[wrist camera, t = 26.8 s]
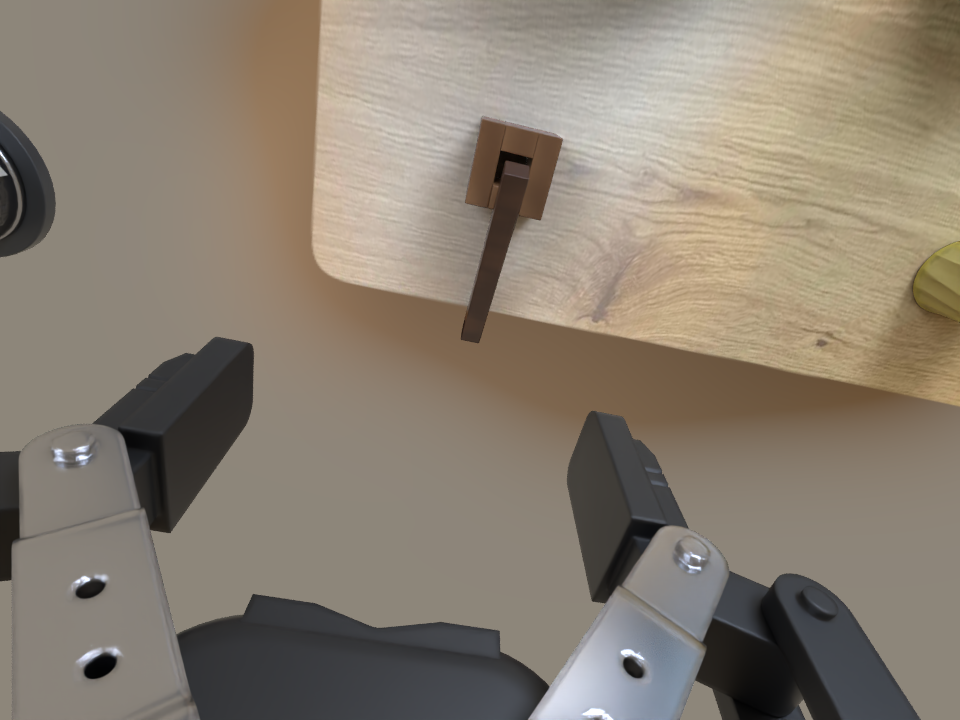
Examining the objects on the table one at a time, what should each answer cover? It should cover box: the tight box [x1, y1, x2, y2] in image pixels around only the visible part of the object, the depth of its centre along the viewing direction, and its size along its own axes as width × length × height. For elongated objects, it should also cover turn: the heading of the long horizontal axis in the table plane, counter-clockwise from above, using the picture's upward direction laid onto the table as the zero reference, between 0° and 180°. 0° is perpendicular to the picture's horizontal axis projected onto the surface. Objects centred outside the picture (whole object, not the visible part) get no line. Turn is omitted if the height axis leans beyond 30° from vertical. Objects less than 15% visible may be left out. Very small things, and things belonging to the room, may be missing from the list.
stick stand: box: [465, 116, 563, 220], centre depth 36 cm, size 5×5×4 cm
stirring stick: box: [461, 161, 530, 343], centre depth 39 cm, size 2×2×16 cm
